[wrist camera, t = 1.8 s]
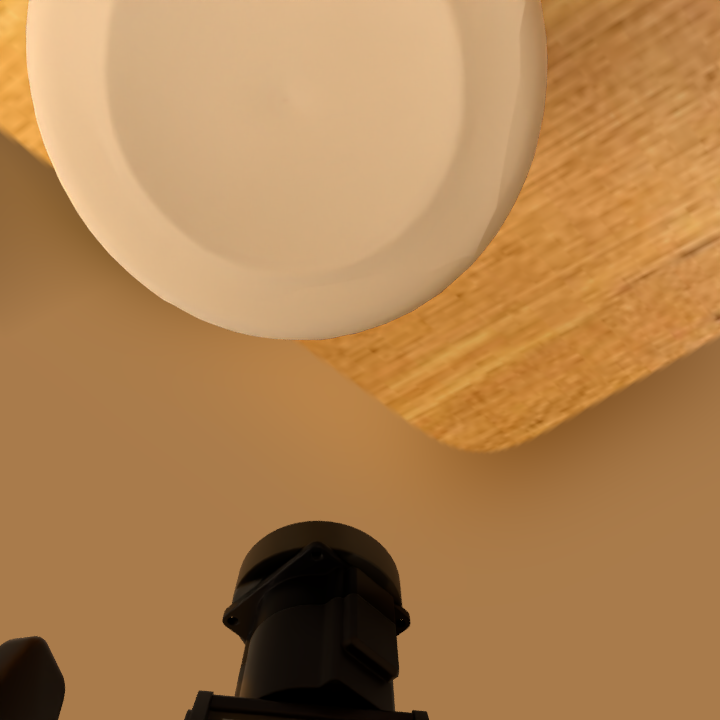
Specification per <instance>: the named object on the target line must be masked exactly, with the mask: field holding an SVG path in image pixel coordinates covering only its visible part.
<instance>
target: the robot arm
mask: <svg viewBox="0 0 720 720" xmlns="http://www.w3.org/2000/svg"><path fill="white" fill-rule="evenodd" d="M314 551H319V552H321V553H320V554H314V553H313V552H314ZM232 617H236V618H232ZM398 619H402V620H401V621H398ZM222 622H223V624H224V625H225V626H226V627H227V628H229V629H230V630H231V631H233V632H234V633H236V634H237V635H239V636H240V637H241V638H243V639H244V640H245V641H246V644H245V649H244V654H243V658H242V664H241V668H240V673H239V677H238V682H237V688H236V692H235V697H234V696H223V695H213V692H209V691H199V692H198V694H197V697H196V700H195V703H194V706H193V708H192V710H188V711H187V714H186V716H185V719H184V720H429V718H428V714H427V712H426V711H416V710H413V711H412V713H408V712H396V711H395V704H394V691H393V680H394V679H395V678H396V677H398V674H399V662H398V650H397V637H396V636H398V635H399V634H401V633H402V632H403V631H405V630H406V629H408V627H409V626H410V615H409V613H408V611H407V610H405V609H404V608H403V607H402V606H401V605H399V604H398V603H397V602H396V601H394V599H393V597H392V596H391V595H390V594H389V593H388V592H387V591H385V590H384V589H383V588H382V587H380V586H379V585H378V584H377V583H376V582H374V581H373V580H372V579H371V578H370V577H368V576H367V575H366V574H365V573H363V572H362V571H361V570H360V569H359V568H357V567H354V566H352V565H351V564H350V563H348V562H347V561H346V560H345V559H343V558H342V557H341V556H340V555H339V554H337V553H336V552H335V551H334V550H333V549H331V548H330V547H329V546H328V545H326V544H325V543H324V542H322V541H312V542H310V543H309V544H307V545H306V546H305V547H304V548H302V549H301V550H300V551H299V552H297V553H296V554H295V555H293V556H292V557H291V558H290V559H288V560H287V561H286V562H285V563H283V564H282V565H281V566H280V567H278V568H277V569H276V570H274V571H273V572H272V573H271V574H269V575H268V576H267V577H266V578H264V579H263V580H262V581H261V582H259V583H258V584H257V585H255V586H254V587H253V588H252V589H250V590H249V591H248V592H247V593H245V594H244V595H243V596H242V597H240V598H239V599H238V600H237V601H235V602H234V603H233V604H231V605H230V606H229V607H228V608H226V610H225V611H224V615H223V619H222ZM64 694H65V683H64V678H63V675H62V673H61V671H60V669H59V667H58V665H57V663H56V661H55V659H54V657H53V655H52V653H51V651H50V648H49V646H48V644H47V643H46V641H45V640H44V639H42V638H41V637H37V636H34V637H25V638H17V639H12V640H9V641H7V642H5V643H3V644H2V645H1V646H0V720H58V718H59V714H60V711H61V707H62V704H63V700H64Z"/></svg>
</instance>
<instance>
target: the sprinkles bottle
mask: <svg viewBox="0 0 720 720" xmlns="http://www.w3.org/2000/svg"><path fill="white" fill-rule="evenodd" d="M26 50H27V69H28V76H29V83H30V90H31V96H32V100H33V105H34V110H35V115H36V119H37V123H38V126H39V129H40V133H41V136H42V139H43V143H44V145H45V148H46V150H47V153H48V155H49V158H50V160H51V162H52V164H53V167H54V169H55V171H56V173H57V176H58V178H59V180H60V182H61V184H62V186H63V188H64V190H65V192H66V193H67V195H68V197H69V199H70V200H71V202H72V204H73V205H74V207H75V209H76V210H77V212H78V214H79V215H80V217H81V218H82V220H83V221H84V223H85V224H86V226H87V227H88V229H89V230H90V231H91V232H92V234H93V235H94V236H95V237H96V239H97V240H98V241H99V242H100V243H101V245H102V246H103V247H104V248H105V249H106V250H107V252H108V253H109V254H110V255H111V256H112V257H113V258H114V259H115V260H116V261H117V262H118V263H119V264H120V265H121V266H123V267H124V268H125V269H126V270H127V271H128V272H129V273H130V274H131V275H132V276H133V277H135V278H136V279H137V280H138V281H139V282H141V283H142V284H143V285H144V286H146V287H147V288H148V289H149V290H151V291H152V292H153V293H155V294H156V295H158V296H159V297H160V298H161V299H163V300H165V301H167V302H169V303H171V304H173V305H175V306H176V307H178V308H180V309H181V310H183V311H185V312H187V313H189V314H191V315H193V316H195V317H197V318H199V319H201V320H203V321H206V322H209V323H211V324H214V325H217V326H219V327H222V328H225V329H228V330H232V331H235V332H238V333H243V334H247V335H252V336H258V337H264V338H271V339H287V340H322V339H330V338H335V337H339V336H343V335H348V334H356V333H359V332H362V331H365V330H368V329H371V328H374V327H377V326H380V325H383V324H386V323H388V322H390V321H393V320H395V319H397V318H399V317H401V316H403V315H405V314H408V313H410V312H412V311H414V310H415V309H417V308H418V307H420V306H421V305H423V304H424V303H426V302H427V301H429V300H430V299H432V298H433V297H435V296H436V295H438V294H439V293H441V292H442V291H443V290H444V289H446V288H447V287H448V286H449V285H450V284H451V283H452V282H453V281H454V280H456V279H457V278H458V277H459V276H460V275H461V274H462V273H463V272H465V271H466V270H467V269H468V268H469V267H470V266H471V265H472V264H473V263H474V262H475V261H476V260H477V258H478V257H479V256H480V255H481V254H482V252H483V251H484V250H485V248H486V247H487V246H488V245H489V243H490V242H491V241H492V239H493V238H494V237H495V236H496V234H497V233H498V231H499V229H500V228H501V226H502V225H503V223H504V221H505V220H506V218H507V216H508V215H509V213H510V211H511V209H512V207H513V206H514V204H515V202H516V200H517V197H518V195H519V193H520V191H521V189H522V186H523V184H524V182H525V180H526V177H527V175H528V172H529V169H530V167H531V164H532V161H533V158H534V155H535V151H536V147H537V143H538V138H539V134H540V129H541V124H542V120H543V115H544V108H545V98H546V88H547V64H548V55H547V37H546V31H545V24H544V17H543V11H542V5H541V0H29V4H28V13H27V23H26Z"/></svg>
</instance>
